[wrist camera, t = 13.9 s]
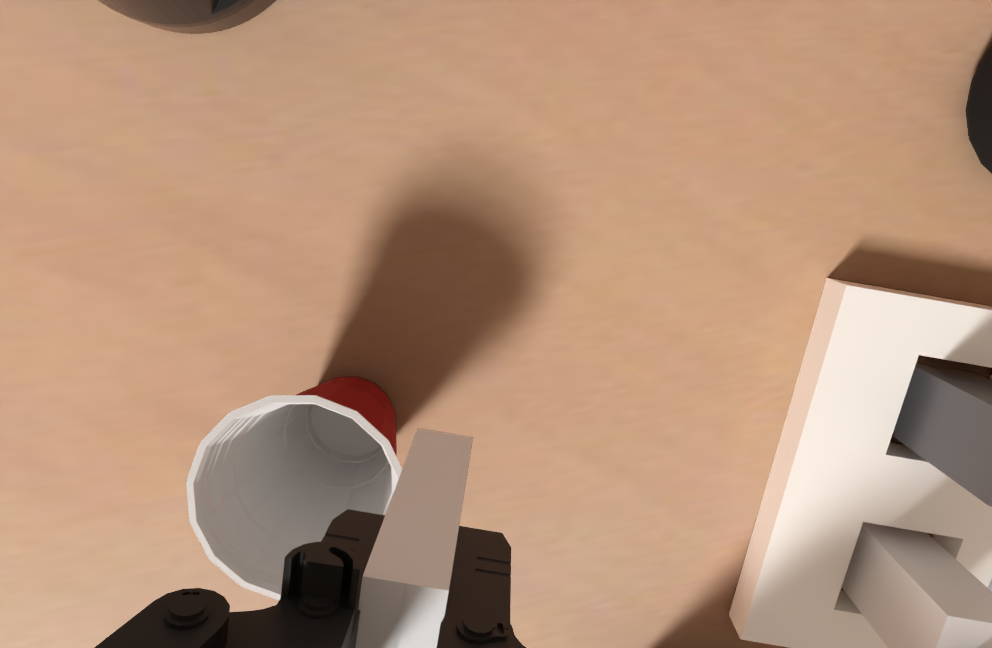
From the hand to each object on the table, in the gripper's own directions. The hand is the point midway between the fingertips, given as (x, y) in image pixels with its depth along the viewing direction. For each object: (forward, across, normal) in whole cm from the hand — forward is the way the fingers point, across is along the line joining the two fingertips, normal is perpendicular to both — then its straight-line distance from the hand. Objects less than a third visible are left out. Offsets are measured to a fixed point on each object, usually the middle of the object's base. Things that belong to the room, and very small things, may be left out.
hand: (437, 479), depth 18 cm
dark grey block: (+24, +29, -2) cm, 38 cm away
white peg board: (+24, +29, -7) cm, 38 cm away
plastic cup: (+25, -7, -9) cm, 27 cm away
